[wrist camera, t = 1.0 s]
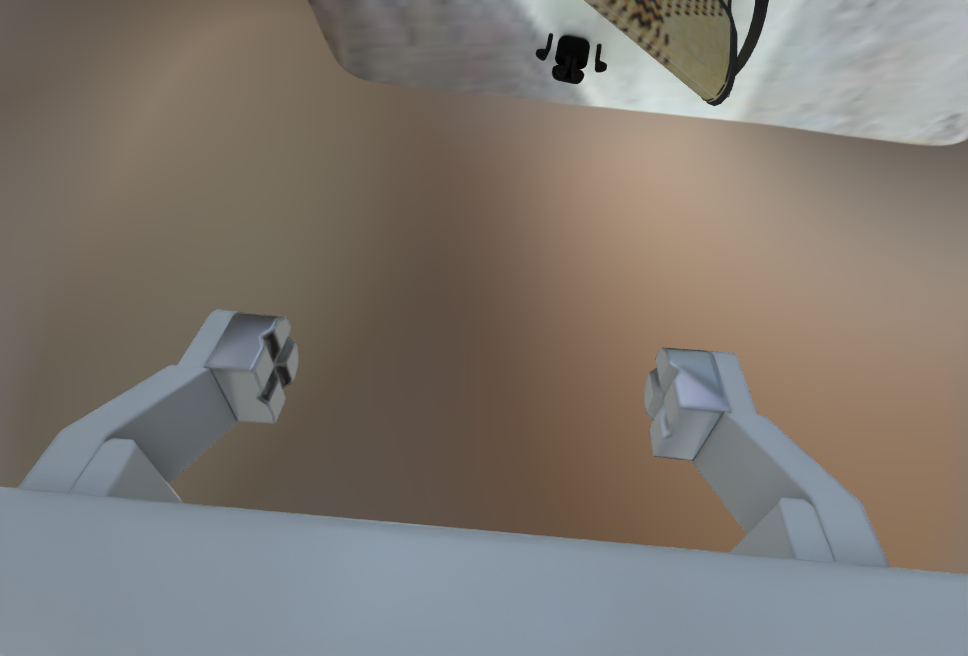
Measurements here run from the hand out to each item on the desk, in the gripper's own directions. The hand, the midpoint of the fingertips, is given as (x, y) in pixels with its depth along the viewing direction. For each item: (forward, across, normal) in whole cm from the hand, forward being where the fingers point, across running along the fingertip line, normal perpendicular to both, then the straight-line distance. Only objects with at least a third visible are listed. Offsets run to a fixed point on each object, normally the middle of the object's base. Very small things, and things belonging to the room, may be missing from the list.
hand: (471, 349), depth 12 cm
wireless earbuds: (+50, -6, +9) cm, 51 cm away
